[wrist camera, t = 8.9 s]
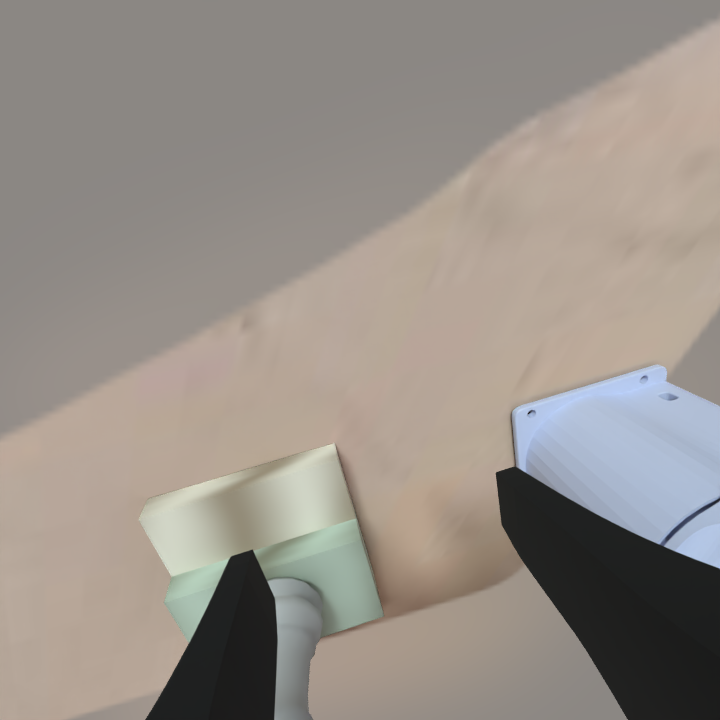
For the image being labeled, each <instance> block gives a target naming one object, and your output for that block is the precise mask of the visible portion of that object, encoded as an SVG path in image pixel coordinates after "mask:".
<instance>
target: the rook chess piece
mask: <svg viewBox="0 0 720 720" xmlns="http://www.w3.org/2000/svg"><path fill="white" fill-rule="evenodd" d="M267 582H268V584H269V586H270V589H271V591H272V593H273V595H274V597H275V603H276V617H277V634H278V647H277V672H276V694H275V715H274V720H313V718H312V717H311V715H310V714H309V710H308V709H309V708H308V684H309V668H310V660H311V659H312V657H313V656H314V654H315V649H316V644H317V643H318V642H319V640H320V635H321V630H322V625H323V619H322V616H321V612H322V607H323V603H322V601H321V598H320V596H319V593H318V592H316V591H315V590H314V589H313V588H312V587H310V586H309V585H308V584H307V583H306V582H304V581H303V580H300V579H296V578H293V577H274V578H271V579H268V580H267Z"/></svg>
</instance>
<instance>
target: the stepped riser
mask: <svg viewBox="0 0 720 720" xmlns="http://www.w3.org/2000/svg"><path fill="white" fill-rule="evenodd" d="M139 521H140V523H141V525H142V527H143V528H144V530H145V532H146V533H147V535H148V537H149V539H150V540H151V542H152V544H153V545H154V547H155V549H156V551H157V552H158V554H159V556H160V557H161V559H162V561H163V563H164V564H165V566H166V568H167V569H168V571H169V573H170V575H171V576H172V578H171V581H170V584H169V588H168V591H167V595H166V598H165V601H164V603H165V605H166V607H167V608H168V610H169V612H170V613H171V615H172V616H173V618H174V620H175V621H176V623H177V624H178V626H179V628H180V629H181V631H182V633H183V634H184V636H185V637H186V639H187V641H188V642H190V640H191V638H192V636H193V634H194V632H195V630H196V628H197V626H198V624H199V622H200V620H201V618H202V616H203V614H204V612H205V610H206V608H207V606H208V604H209V602H210V600H211V598H212V595H213V593H214V591H215V589H216V587H217V585H218V582H219V580H220V578H221V576H222V574H223V571H224V569H225V567H226V565H227V563H228V560H229V559H230V557H231V556H233V555H237V554H240V553H243V552H246V551H249V550H252V549H253V551H254V553H255V556H256V558H257V560H258V562H259V564H260V567H261V569H262V571H263V573H264V575H265V578H266V580H268V579H271V578H274V577H293V578H296V579H300V580H303V581H304V582H306V583H307V584H308V585H309V586H310V587H312V588H313V589H314V590H315V591H316V592H318V593H319V596H320V598H321V601H322V603H323V607H322V612H321V616H322V619H323V625H322V630H321V635H320V638H322V637H325V636H327V635H330V634H333V633H336V632H339V631H342V630H345V629H348V628H351V627H354V626H357V625H360V624H363V623H366V622H369V621H372V620H375V619H378V618H380V617H383V616H384V613H383V609H382V605H381V601H380V597H379V593H378V589H377V585H376V581H375V577H374V573H373V570H372V566H371V563H370V560H369V556H368V553H367V550H366V546H365V543H364V540H363V536H362V533H361V530H360V526H359V523H358V520H357V516H356V513H355V510H354V506H353V503H352V500H351V496H350V493H349V490H348V486H347V483H346V480H345V476H344V473H343V470H342V467H341V463H340V460H339V457H338V453H337V450H336V447H335V443H333V444H330V445H327V446H323V447H320V448H317V449H313V450H310V451H307V452H303V453H300V454H296V455H293V456H290V457H286V458H283V459H280V460H276V461H273V462H270V463H266V464H263V465H260V466H256V467H253V468H250V469H246V470H243V471H240V472H236V473H233V474H230V475H226V476H223V477H220V478H216V479H213V480H210V481H206V482H203V483H200V484H196V485H193V486H190V487H186V488H183V489H180V490H176V491H173V492H170V493H166V494H163V495H160V496H156V497H153V498H150V499H148V500H147V502H146V504H145V507H144V509H143V511H142V513H141V515H140V518H139Z"/></svg>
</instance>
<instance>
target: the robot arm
mask: <svg viewBox="0 0 720 720" xmlns="http://www.w3.org/2000/svg"><path fill="white" fill-rule="evenodd" d="M666 376H667V370H666V368H665V367H663V366H660V365H653V366H650V367H647V368H643V369H640V370H637V371H633V372H630V373H627V374H624V375H620V376H617V377H614V378H610V379H607V380H604V381H600V382H597V383H594V384H591V385H587V386H584V387H581V388H577V389H574V390H571V391H568V392H564V393H561V394H558V395H554V396H551V397H548V398H544V399H541V400H538V401H535V402H531V403H528V404H525V405H521V406H519V407H517V408H515V409H514V410H513V412H512V425H513V436H514V447H515V458H516V466H515V467H511V468H508V469H505V470H502V471H499V472H496V479H497V488H498V496H499V505H500V514H501V523H502V526H503V528H504V530H505V531H506V533H507V535H508V537H509V539H510V540H511V542H512V544H513V546H514V548H515V549H516V551H517V553H518V554H519V556H520V558H521V559H522V561H523V562H524V564H525V565H526V566H527V568H528V569H529V571H530V572H531V573H532V575H533V576H534V578H535V579H536V580H537V582H538V583H539V584H540V586H541V587H542V589H543V590H544V591H545V593H546V594H547V596H548V597H549V598H550V600H551V601H552V602H553V604H554V605H555V607H556V608H557V609H558V611H559V612H560V613H561V615H562V616H563V617H564V619H565V620H566V622H567V623H568V625H569V626H570V627H571V629H572V630H573V631H574V633H575V634H576V636H577V637H578V639H579V640H580V641H581V643H582V645H583V646H584V648H585V649H586V651H587V652H588V654H589V656H590V657H591V659H592V660H593V662H594V664H595V665H596V667H597V669H598V670H599V672H600V673H601V675H602V677H603V679H604V680H605V682H606V684H607V685H608V687H609V688H610V690H611V692H612V693H613V695H614V697H615V699H616V700H617V702H618V704H619V705H620V707H621V709H622V711H623V712H624V714H625V716H626V717H627V719H628V720H720V406H718V405H716V404H713V403H712V402H710V401H707V400H705V399H703V398H701V397H699V396H697V395H694V394H692V393H690V392H688V391H686V390H683V389H681V388H679V387H677V386H675V385H673V384H670V383H668V382H666ZM640 379H641V380H640ZM530 410H532V412H531V413H530V414H528V412H529V411H530ZM527 414H528V415H527ZM277 647H278V634H277V617H276V603H275V597H274V595H273V593H272V591H271V589H270V586H269V584H268V582H267V580H266V578H265V575H264V573H263V571H262V569H261V567H260V564H259V562H258V560H257V558H256V556H255V553H254V551H253V549H252V550H249V551H246V552H243V553H240V554H237V555H233V556H231V557H230V559H229V560H228V563H227V565H226V567H225V569H224V571H223V574H222V576H221V578H220V580H219V582H218V585H217V587H216V589H215V591H214V593H213V595H212V598H211V600H210V602H209V604H208V606H207V608H206V610H205V612H204V614H203V616H202V618H201V620H200V622H199V624H198V626H197V628H196V630H195V632H194V634H193V636H192V638H191V640H190V642H189V644H188V646H187V648H186V650H185V652H184V654H183V655H182V657H181V659H180V661H179V663H178V665H177V666H176V668H175V670H174V672H173V674H172V676H171V677H170V679H169V681H168V683H167V685H166V686H165V688H164V690H163V691H162V693H161V695H160V697H159V698H158V700H157V702H156V703H155V705H154V707H153V708H152V710H151V712H150V713H149V715H148V716H147V718H146V719H145V720H274V715H275V694H276V672H277Z"/></svg>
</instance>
